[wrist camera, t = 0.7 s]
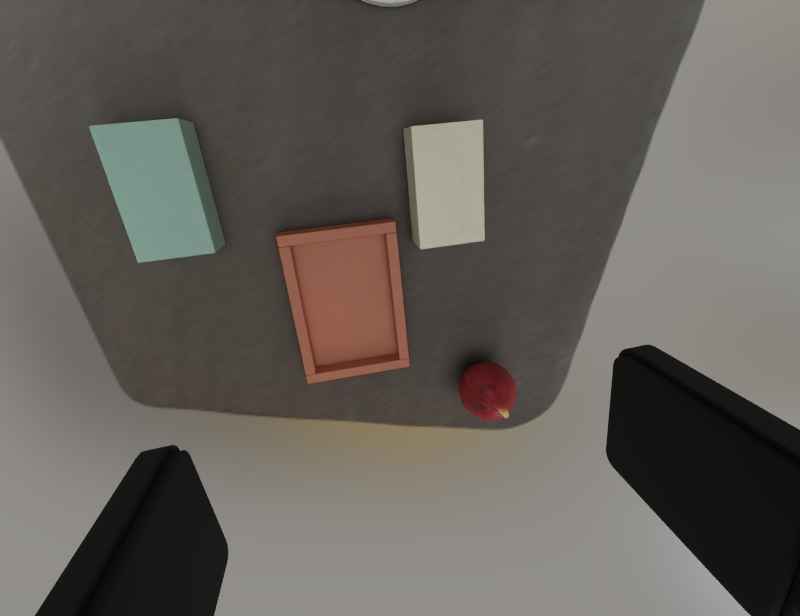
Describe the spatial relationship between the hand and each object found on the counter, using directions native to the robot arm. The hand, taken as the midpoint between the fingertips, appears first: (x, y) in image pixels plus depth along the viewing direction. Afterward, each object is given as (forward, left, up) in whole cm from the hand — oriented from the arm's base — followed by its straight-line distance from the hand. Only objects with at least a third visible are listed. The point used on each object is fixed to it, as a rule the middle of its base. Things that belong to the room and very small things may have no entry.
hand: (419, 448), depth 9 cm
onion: (+18, +12, -30) cm, 37 cm away
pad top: (-3, +9, -30) cm, 32 cm away
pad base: (-5, -14, -30) cm, 34 cm away
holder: (+7, -1, -30) cm, 31 cm away
